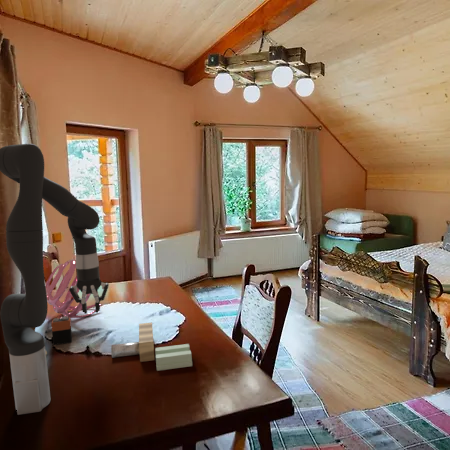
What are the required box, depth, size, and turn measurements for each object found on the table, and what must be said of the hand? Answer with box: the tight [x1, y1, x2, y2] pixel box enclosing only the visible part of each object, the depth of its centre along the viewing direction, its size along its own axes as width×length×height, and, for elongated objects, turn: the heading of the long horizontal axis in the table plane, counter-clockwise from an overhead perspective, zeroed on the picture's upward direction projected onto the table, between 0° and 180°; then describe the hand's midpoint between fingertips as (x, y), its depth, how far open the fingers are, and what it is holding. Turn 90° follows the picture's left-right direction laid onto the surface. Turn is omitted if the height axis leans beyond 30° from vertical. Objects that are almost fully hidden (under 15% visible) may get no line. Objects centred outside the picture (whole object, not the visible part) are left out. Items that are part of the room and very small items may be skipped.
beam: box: [138, 322, 156, 363], centre depth 147 cm, size 18×5×7 cm, turn 12°
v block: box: [154, 343, 193, 372], centre depth 137 cm, size 10×12×4 cm
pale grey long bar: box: [110, 341, 140, 358], centre depth 144 cm, size 14×4×4 cm, turn 102°
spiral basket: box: [45, 258, 102, 319], centre depth 186 cm, size 28×28×27 cm
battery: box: [50, 316, 73, 346], centre depth 157 cm, size 4×7×10 cm, turn 107°
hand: (91, 312), depth 141 cm, fingers open, 3 cm apart
